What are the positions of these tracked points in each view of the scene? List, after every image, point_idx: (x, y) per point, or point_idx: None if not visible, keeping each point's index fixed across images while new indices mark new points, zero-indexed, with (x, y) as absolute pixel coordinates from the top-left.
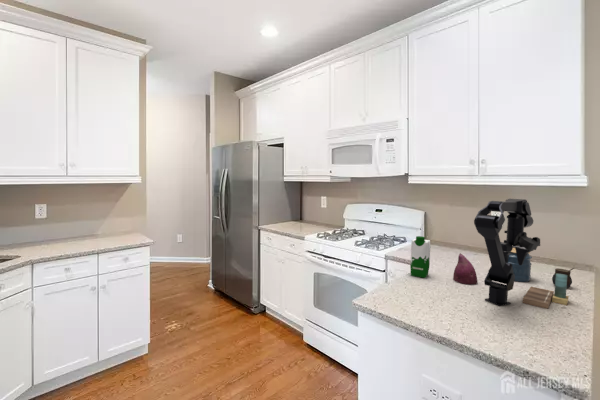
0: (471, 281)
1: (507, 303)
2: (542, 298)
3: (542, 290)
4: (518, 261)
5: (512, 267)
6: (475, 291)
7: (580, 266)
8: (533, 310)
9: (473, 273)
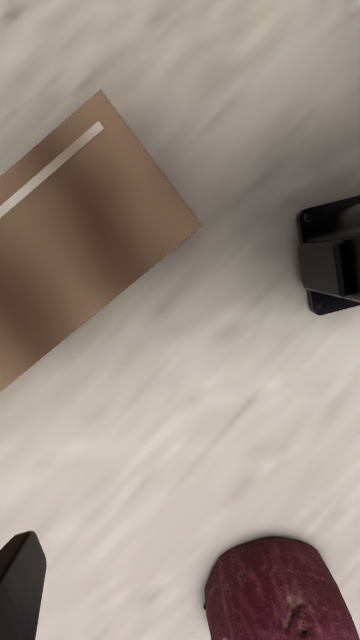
0: (283, 555)
1: (330, 204)
2: (48, 203)
3: None
4: (31, 630)
5: None
6: (337, 431)
7: None
8: (230, 98)
9: (281, 623)
